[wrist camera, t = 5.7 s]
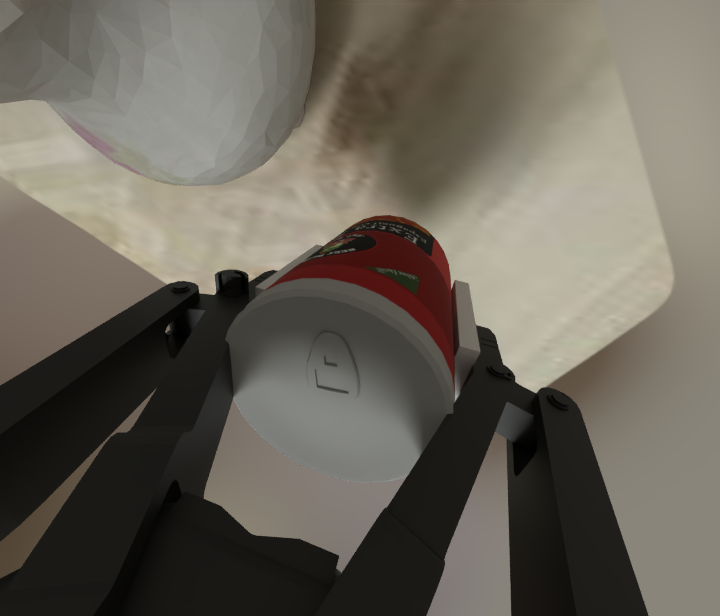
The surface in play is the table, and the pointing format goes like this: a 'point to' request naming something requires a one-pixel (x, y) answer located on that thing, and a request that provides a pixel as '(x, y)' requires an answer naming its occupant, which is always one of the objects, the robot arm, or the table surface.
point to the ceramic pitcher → (165, 78)
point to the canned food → (351, 353)
